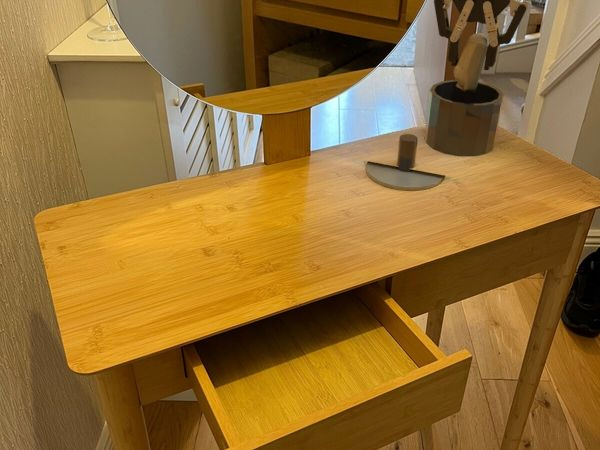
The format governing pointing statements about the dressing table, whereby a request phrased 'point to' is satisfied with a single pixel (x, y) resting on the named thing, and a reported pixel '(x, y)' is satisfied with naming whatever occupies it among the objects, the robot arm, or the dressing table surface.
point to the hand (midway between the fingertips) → (470, 66)
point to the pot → (463, 118)
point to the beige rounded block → (471, 62)
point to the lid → (403, 169)
